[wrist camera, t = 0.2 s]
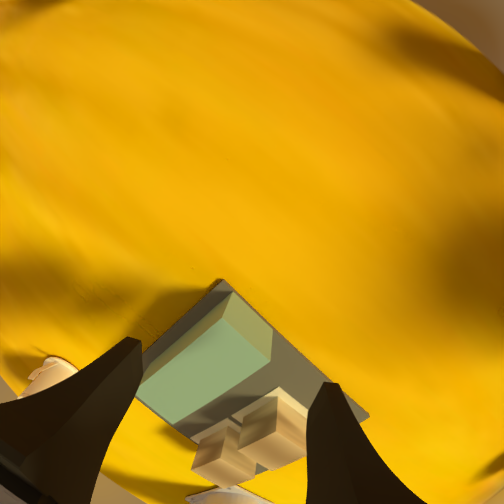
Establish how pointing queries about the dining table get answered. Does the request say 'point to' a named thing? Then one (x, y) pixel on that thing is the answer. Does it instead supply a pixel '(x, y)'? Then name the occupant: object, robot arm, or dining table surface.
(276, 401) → the pillar
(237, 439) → the wooden cube
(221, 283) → the mat
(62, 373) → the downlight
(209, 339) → the lintel
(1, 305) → the dining table surface
